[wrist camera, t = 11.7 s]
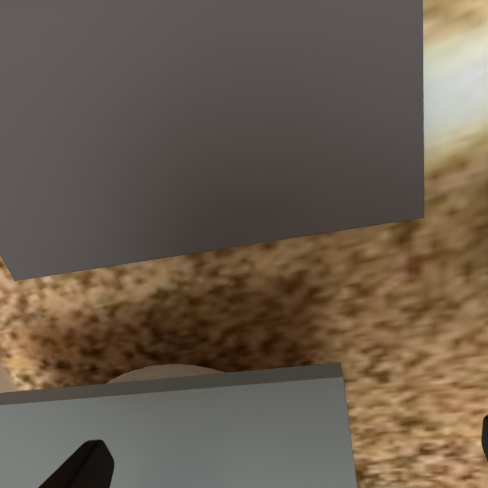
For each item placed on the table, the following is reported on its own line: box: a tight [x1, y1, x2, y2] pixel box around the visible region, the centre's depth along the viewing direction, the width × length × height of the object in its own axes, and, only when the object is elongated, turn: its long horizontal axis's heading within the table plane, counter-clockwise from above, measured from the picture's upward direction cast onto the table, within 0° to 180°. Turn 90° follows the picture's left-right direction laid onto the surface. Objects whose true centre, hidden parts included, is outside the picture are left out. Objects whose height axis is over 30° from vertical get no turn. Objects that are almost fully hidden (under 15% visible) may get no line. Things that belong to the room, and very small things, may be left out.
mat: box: [0, 0, 424, 281], centre depth 16 cm, size 25×25×1 cm
